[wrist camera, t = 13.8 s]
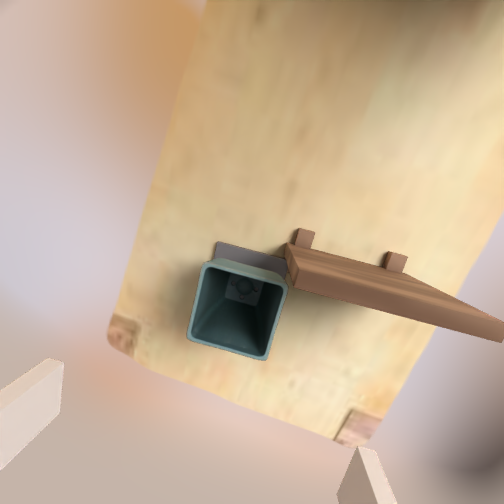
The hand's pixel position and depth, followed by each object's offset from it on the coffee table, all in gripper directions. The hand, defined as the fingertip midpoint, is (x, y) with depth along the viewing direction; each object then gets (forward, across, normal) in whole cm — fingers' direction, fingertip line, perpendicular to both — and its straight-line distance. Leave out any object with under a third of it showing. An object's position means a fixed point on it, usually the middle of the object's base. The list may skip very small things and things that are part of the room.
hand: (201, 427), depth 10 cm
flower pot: (+23, 0, -1) cm, 23 cm away
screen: (+23, +12, +5) cm, 26 cm away
